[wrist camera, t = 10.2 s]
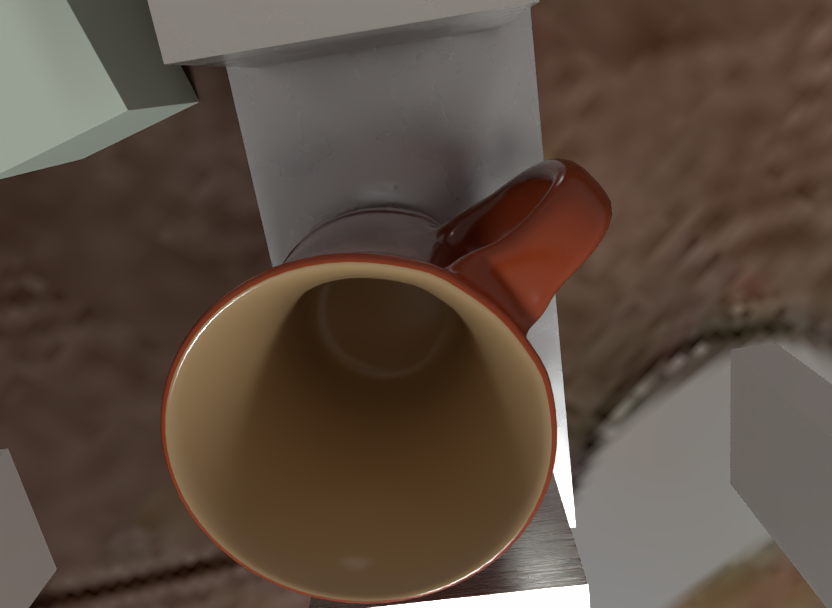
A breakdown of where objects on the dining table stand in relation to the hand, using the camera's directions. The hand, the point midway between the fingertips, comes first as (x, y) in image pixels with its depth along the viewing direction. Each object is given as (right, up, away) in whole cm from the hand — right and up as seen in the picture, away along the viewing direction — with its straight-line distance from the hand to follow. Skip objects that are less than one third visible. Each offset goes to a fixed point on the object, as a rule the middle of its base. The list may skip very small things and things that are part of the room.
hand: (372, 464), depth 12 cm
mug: (+1, +4, +12) cm, 13 cm away
